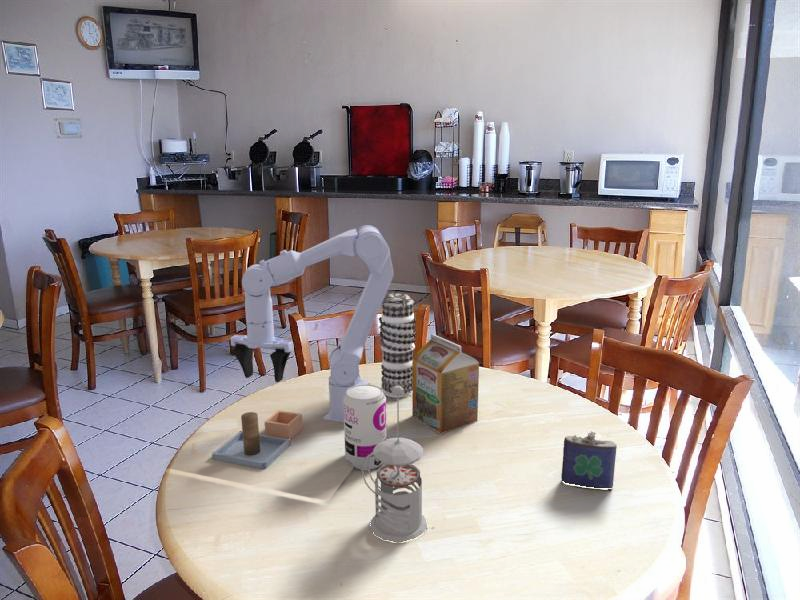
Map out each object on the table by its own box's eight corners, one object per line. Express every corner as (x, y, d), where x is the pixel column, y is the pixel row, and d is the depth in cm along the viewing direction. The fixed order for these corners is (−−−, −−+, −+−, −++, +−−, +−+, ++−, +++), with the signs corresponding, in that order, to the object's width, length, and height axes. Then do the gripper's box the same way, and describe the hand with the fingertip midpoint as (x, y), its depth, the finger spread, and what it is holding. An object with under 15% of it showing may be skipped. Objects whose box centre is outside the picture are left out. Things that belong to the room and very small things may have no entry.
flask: (612, 484, 113) (617, 432, 110) (613, 493, 110) (618, 439, 107) (561, 477, 115) (564, 426, 112) (560, 485, 113) (564, 433, 110)
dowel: (263, 449, 125) (260, 413, 123) (254, 456, 122) (251, 420, 120) (249, 446, 126) (247, 411, 124) (241, 453, 123) (238, 417, 121)
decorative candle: (409, 400, 148) (409, 302, 142) (374, 395, 152) (372, 298, 145) (421, 386, 157) (421, 292, 150) (388, 381, 160) (386, 289, 153)
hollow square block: (302, 430, 134) (301, 413, 133) (289, 442, 129) (288, 425, 128) (279, 426, 136) (278, 410, 135) (265, 438, 131) (264, 421, 129)
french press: (408, 551, 95) (408, 404, 89) (349, 527, 101) (344, 388, 95) (438, 518, 103) (440, 382, 97) (381, 497, 109) (379, 367, 103)
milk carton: (477, 420, 138) (479, 341, 133) (440, 433, 132) (441, 351, 127) (448, 404, 146) (449, 329, 141) (412, 415, 141) (412, 338, 136)
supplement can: (393, 455, 123) (392, 387, 119) (374, 475, 116) (373, 403, 112) (358, 447, 127) (356, 380, 123) (338, 466, 120) (335, 396, 116)
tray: (290, 447, 127) (290, 439, 126) (265, 471, 118) (264, 463, 117) (240, 438, 131) (240, 430, 130) (212, 461, 122) (211, 453, 121)
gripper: (220, 322, 131) (225, 381, 134) (280, 329, 126) (283, 389, 130) (239, 313, 137) (243, 369, 141) (296, 319, 133) (299, 377, 136)
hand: (264, 378), depth 136 cm, fingers open, 7 cm apart
